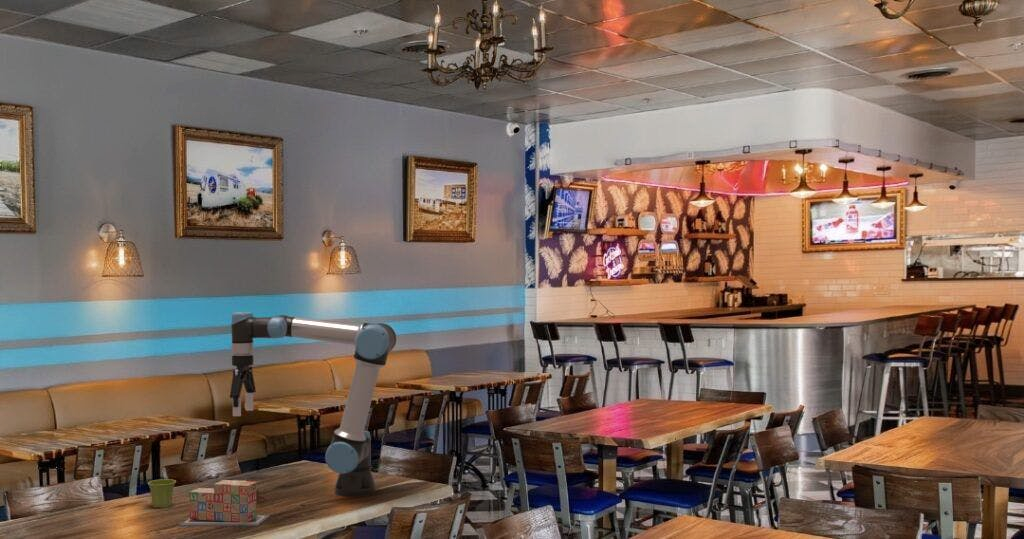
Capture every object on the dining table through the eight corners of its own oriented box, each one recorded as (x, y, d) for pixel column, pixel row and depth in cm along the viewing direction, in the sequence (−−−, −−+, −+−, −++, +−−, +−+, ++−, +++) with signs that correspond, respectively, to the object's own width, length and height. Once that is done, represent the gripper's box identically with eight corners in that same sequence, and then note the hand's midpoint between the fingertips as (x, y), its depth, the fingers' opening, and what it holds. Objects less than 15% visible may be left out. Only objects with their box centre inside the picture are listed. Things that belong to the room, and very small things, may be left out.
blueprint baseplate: (269, 518, 327) (269, 514, 327) (257, 528, 314) (257, 524, 314) (194, 517, 329) (194, 514, 329) (178, 527, 316) (178, 524, 316)
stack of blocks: (189, 519, 322) (188, 482, 322) (199, 515, 328) (199, 478, 328) (248, 523, 317) (247, 485, 317) (257, 518, 323) (257, 481, 323)
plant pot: (168, 501, 353) (168, 477, 353) (180, 506, 346) (180, 481, 346) (143, 506, 346) (143, 481, 346) (155, 510, 339) (155, 485, 339)
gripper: (244, 351, 365) (244, 408, 365) (220, 357, 340) (220, 418, 340) (263, 351, 365) (264, 408, 365) (241, 357, 340) (241, 418, 340)
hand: (243, 413), depth 352 cm, fingers open, 13 cm apart
